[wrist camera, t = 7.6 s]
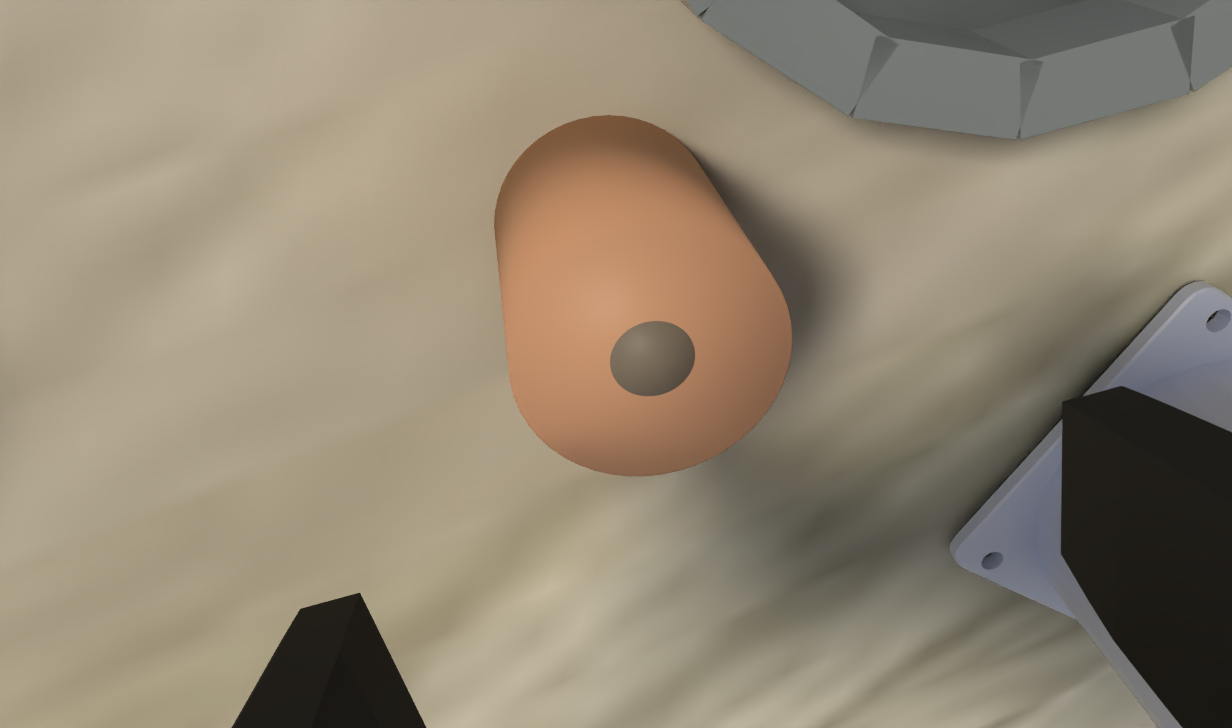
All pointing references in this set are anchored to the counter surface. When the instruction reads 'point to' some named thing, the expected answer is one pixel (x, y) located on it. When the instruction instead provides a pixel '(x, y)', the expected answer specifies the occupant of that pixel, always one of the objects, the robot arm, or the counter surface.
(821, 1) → the groove tray
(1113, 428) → the robot arm
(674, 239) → the bead terracotta
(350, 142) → the counter surface
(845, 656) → the counter surface
